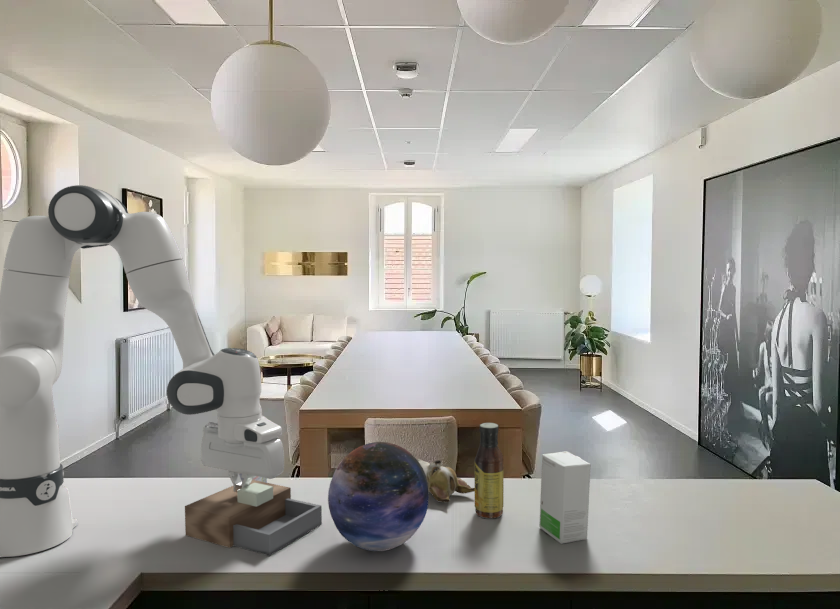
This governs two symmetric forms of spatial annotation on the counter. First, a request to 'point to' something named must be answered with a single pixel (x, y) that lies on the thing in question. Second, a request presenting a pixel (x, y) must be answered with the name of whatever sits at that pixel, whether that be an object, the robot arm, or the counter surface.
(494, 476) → the sauce bottle
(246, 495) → the tile
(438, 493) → the ceramic sculpture
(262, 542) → the bin
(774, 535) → the counter surface
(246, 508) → the wooden drawer casing
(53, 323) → the robot arm
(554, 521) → the skincare box
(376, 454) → the decorative sphere
